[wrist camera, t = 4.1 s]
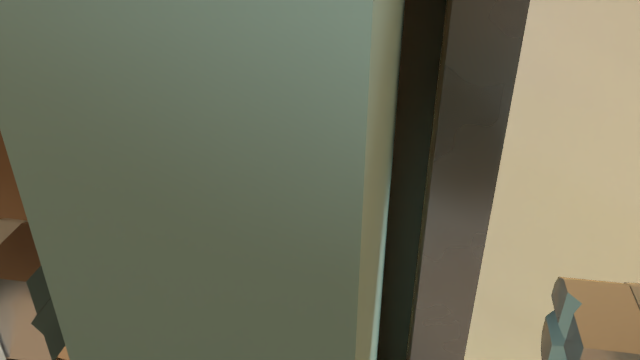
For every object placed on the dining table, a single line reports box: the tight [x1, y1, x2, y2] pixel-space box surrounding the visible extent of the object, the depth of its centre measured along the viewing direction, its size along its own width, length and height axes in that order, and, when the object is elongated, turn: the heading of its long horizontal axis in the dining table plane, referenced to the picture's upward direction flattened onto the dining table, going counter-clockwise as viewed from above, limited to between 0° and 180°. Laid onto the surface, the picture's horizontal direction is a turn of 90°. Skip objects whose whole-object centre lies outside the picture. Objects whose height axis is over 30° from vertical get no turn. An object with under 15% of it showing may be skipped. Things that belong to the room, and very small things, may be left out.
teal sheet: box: [0, 0, 405, 360], centre depth 10 cm, size 2×14×9 cm, turn 0°
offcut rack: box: [6, 0, 530, 360], centre depth 12 cm, size 15×20×7 cm
